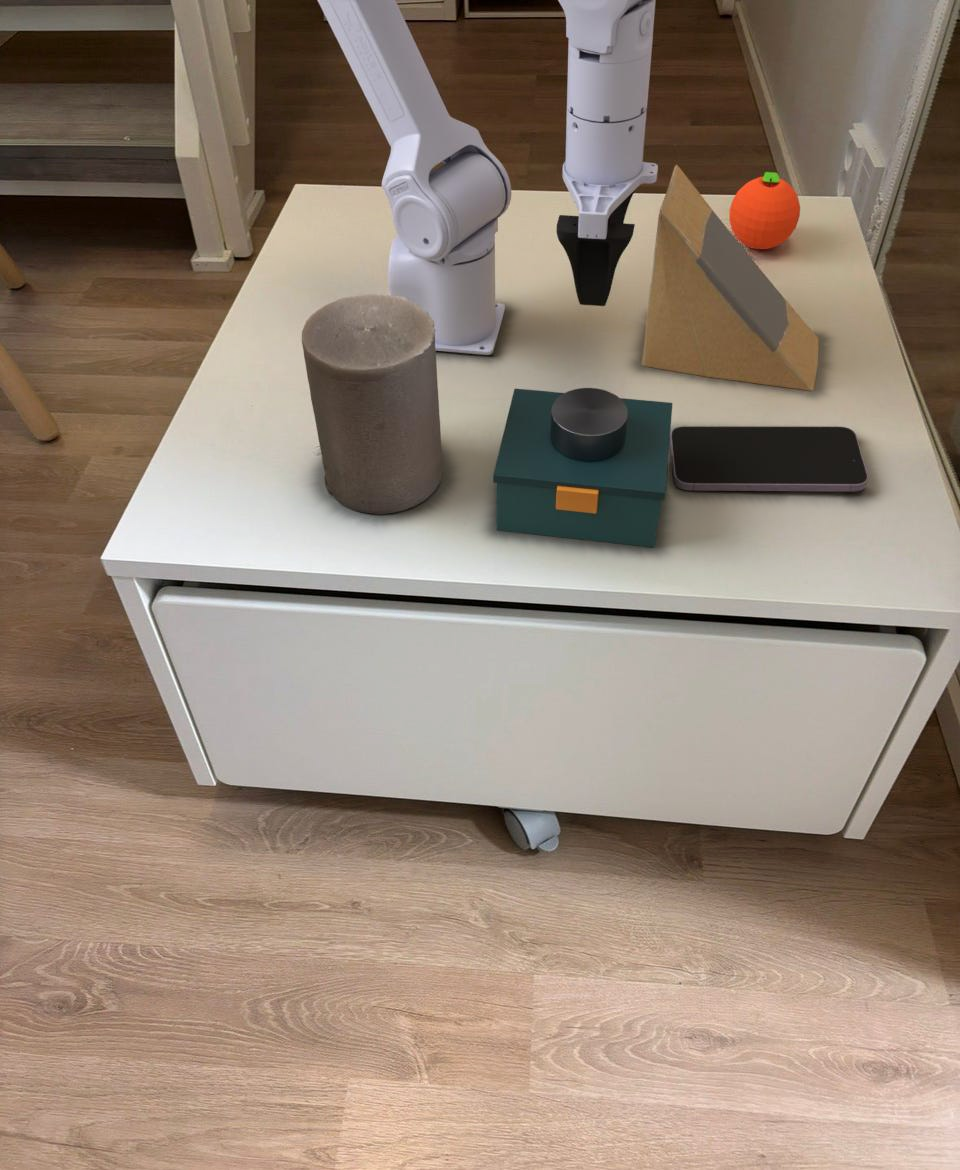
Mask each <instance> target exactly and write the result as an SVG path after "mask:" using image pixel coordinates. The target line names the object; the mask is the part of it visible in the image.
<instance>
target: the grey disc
mask: <svg viewBox="0 0 960 1170" xmlns="http://www.w3.org/2000/svg"><path fill="white" fill-rule="evenodd" d="M563 393H564V394H562V395H561V396H559V397H558V398H557V399H556V400H555V402H554V403H553V405H552V409H551V431H550V438H551V442H552V444H553V446H554V447H555V449H556V450H557V451H558V452H560V453H561V454H562V455H564V456H566V457H568V458H571V459H574V460H578V461H585V462H594V461H601V460H605V459H608V458H610V457H612V456H614V455H616V454H617V453H618V452H619V451H620V450H621V449H622V447H623V446H624V443H625V437H626V428H627V419H628V409H627V407H626V405H625V403H624V402H623V401H622V400H621V399H620V398H621V397H619V396H618V395H616V394H615V393H613V392H610V391H608V390H605V389H601V388H596V387H581V388H580V387H579V388H575V389H571V390H568V391H566V392H563Z"/></svg>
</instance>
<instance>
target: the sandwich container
mask: <svg viewBox="0 0 960 1170" xmlns="http://www.w3.org/2000/svg"><path fill="white" fill-rule="evenodd" d="M655 235H656V236H655V243H654V251H653V260H652V262H653V263H652V268H651V269H652V270H651V278H650V286H649V294H648V305H647V312H646V322H645V328H644V329H645V330H644V339H643V348H642V357H641V366H643V367H646V368H654V369H658V370H659V369H660V370H666V371H671V372H677V373H684V374H689V375H694V376H695V375H696V376H701V377H707V378H713V379H714V378H715V379H722V380H728V381H737V382H744V383H750V384H751V383H752V384H760V385H767V386H773V387H781V388H787V389H789V388H790V389H795V390H803V391H810V392H814V389H815V384H816V377H817V371H818V367H819V343H820V342H819V341H820V340H819V337H818V336H817V335H816V334H815V333H814V332H813V331H812V329H811V328H810V327H809V325H808V324H807V323H806V322H805V321H804V319H802V317H801V316H800V315H799V314H798V313H797V312H796V310H795V309H794V308H793V307H792V306H791V304H790V303H789V302H788V301H787V300H786V298H784V296H783V295H782V294H781V292H780V291H779V290H778V289H777V287H776V286H775V285H774V284H773V283H772V281H771V280H770V279H769V278H768V276H766V274H765V273H764V272H763V271H762V269H761V268H760V267H759V265H758V264H757V263H756V262H755V260H753V258H752V257H751V256H750V255H749V253H748V252H747V251H746V249H745V248H744V247H743V246H742V245H741V242H740V241H739V240H738V239H737V238H735V235H734V234H733V233H731V231H730V230H729V229H728V227H727V226H726V225H725V224H724V223H723V221H722V220H721V219H720V218H719V216H718V215H717V213H716V212H715V211H714V210H713V208H712V207H711V206H710V205H709V203H708V202H707V201H706V199H705V198H704V197H703V195H701V193H700V192H699V191H698V189H697V188H696V187H695V185H694V184H693V183H692V182H691V180H690V179H689V178H688V177H687V175H686V174H685V172H683V170H682V169H681V167H680V166H679V165H678V164H676V165H674V168H673V170H672V174H671V177H670V180H669V184H668V187H667V189H666V192H665V195H664V198H663V201H662V203H661V206H660V209H659V212H658V217H657V227H656V234H655Z"/></svg>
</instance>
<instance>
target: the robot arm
mask: <svg viewBox="0 0 960 1170" xmlns="http://www.w3.org/2000/svg"><path fill="white" fill-rule="evenodd" d="M557 1H558V2H559V5H560V6H561V8H562V10H563V12H564V15H565V22H566V25H565V33H566V34H565V37H566V38H568V44H567V45H568V47H567V49H568V50H567V54H568V55H567V83H566V84H567V85H566V87H567V89H566V119H565V120H566V126H565V129H566V130H565V161H564V162H563V164H562V180H563V183H564V185H565V186H566V188H567V190H568V193H569V195H570V197H571V199H572V200H573V203H574V204H575V208H576V209H577V211H578V215H566V214H559V215H558V219H557V222H556V231H555V233H556V236H557V240H558V242H559V243H560V245H561V246H562V248H563V249H564V252H565V253H566V255H567V259H568V261H569V264H570V267H571V273H572V277H573V282H574V288H575V293H576V297H577V300H578V303H579V305H581V306H595V307H605V306H606V304H607V302H608V300H609V296H610V293H611V289H612V286H613V281H614V277H615V273H616V269H617V266H618V264H619V262H620V259H621V257H622V255H623V253H624V252H625V250H626V248H627V247H628V246H629V244H630V242H631V241H632V238H633V236H634V231H635V226H636V224H635V223H625V218H626V214H627V211H628V209H629V205H630V203H631V200H632V197H633V195H634V194H635V191H636V190H637V188H638V187H639V186H641V185H643V184H646V185H649V184H655V183H656V182H657V180H658V172H659V166H658V164H657V163H655V162H646V161H643V160H644V151H645V149H644V147H645V136H646V135H645V134H646V123H647V112H648V101H649V88H650V77H651V76H650V75H651V64H652V50H653V41H654V40H653V39H654V36H653V35H654V26H655V24H654V23H655V13H656V0H557ZM317 3H318V5H319V6H320V8H321V11H322V12H323V14H324V16H325V18H326V21H327V23H328V24H329V26H330V28H331V31H332V32H333V35H334V36H335V38H336V40H337V42H338V44H339V46H340V49H341V51H342V52H343V54H344V56H345V58H346V60H347V63H348V64H349V66H350V68H351V71H352V72H353V74H354V76H355V78H356V81H357V83H358V84H359V86H360V88H361V91H362V92H363V95H364V97H365V99H366V100H367V103H368V105H369V107H370V108H371V111H372V113H373V115H374V116H375V118H376V121H377V123H378V124H379V126H380V128H381V131H382V132H383V134H384V136H385V138H386V140H387V143H388V144H389V146H390V153H389V157H388V160H387V164H386V167H385V170H384V173H383V175H382V176H383V177H382V178H381V179H382V180H381V188H382V190H383V192H384V193H385V197H386V198H387V200H388V202H389V205H390V209H391V218H392V223H393V226H394V229H395V231H396V234H397V235H395V237H394V238H393V240H392V243H391V245H390V246H391V247H390V250H389V255H388V265H387V266H388V269H387V283H388V295H389V296H401V297H405V298H407V299H408V300H409V301H411V302H413V303H415V304H417V305H419V306H420V307H421V308H423V309H424V310H425V311H426V312H428V313H429V316H430V317H431V319H432V320H433V321H434V328H435V329H436V331H435V349H436V352H437V351H438V352H448V353H460V354H469V355H470V354H472V355H482V356H491V355H492V354H493V353H494V351H495V347H496V344H497V340H498V337H499V333H500V329H501V325H502V322H503V319H504V316H505V311H506V305H505V304H504V303H502V302H501V303H500V302H499V303H498V302H496V233H497V232H498V231H499V219H500V217H502V216H503V215H504V214H505V213H506V211H507V210H508V208H509V206H510V204H511V201H512V185H511V184H512V183H511V180H510V177H509V174H508V172H507V170H506V168H505V167H504V165H503V163H502V162H501V161H500V160H499V159H498V158H497V157H496V156H495V155H494V154H493V152H491V151H490V149H489V148H488V147H487V145H486V144H485V142H484V140H483V138H482V135H481V134H480V132H479V130H478V129H477V128H476V127H474V126H471V125H470V124H468V123H465V122H463V121H461V120H458V119H456V118H454V117H452V116H451V115H450V114H449V112H448V110H447V107H446V105H445V103H444V101H443V99H442V97H441V95H440V93H439V90H438V88H437V86H436V83H435V82H434V79H433V78H432V76H431V73H430V71H429V68H428V67H427V65H426V62H425V60H424V59H423V56H422V54H421V52H420V50H419V48H418V46H417V44H416V41H415V39H414V37H413V35H412V33H411V30H410V28H409V26H408V23H407V22H406V20H405V18H404V16H403V14H402V11H401V9H400V6H399V5H398V3H397V1H396V0H317ZM440 163H443V165H441V166H440V167H438V168H437V169H435V170H434V171H432V170H433V169H434V168H435V167H436V166H437V165H439V164H440ZM431 171H432V172H431Z"/></svg>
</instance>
